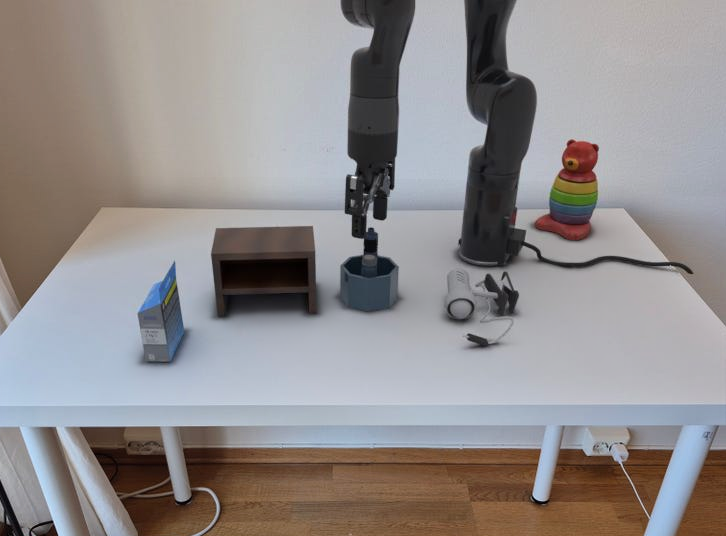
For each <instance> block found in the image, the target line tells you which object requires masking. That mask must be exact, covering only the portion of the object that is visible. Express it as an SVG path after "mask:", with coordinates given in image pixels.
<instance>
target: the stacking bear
mask: <svg viewBox="0 0 726 536" xmlns="http://www.w3.org/2000/svg"><path fill="white" fill-rule="evenodd" d="M599 151H600V147H599V145H598V144H597V143H591V142H589V141H584V140H580V141H579V140H578V141H577V140H575V139H568V141H567V142H566V148H565V149H564V150H563V153H562V155H561V163H562V167H563V168H562V169H560V170H559V171H558V173H557V175H556V176H555V178H554V181H553V183H552V186H551V189H550V192H549V198H548V205H549V213H546V214H543V215H541V216H540V217H538V218H537V219H535V222H534V226H535V228H537V229H539V230H541V231H548V232H553V233H556V234H558V235H559V236H561V237H562V238H564V239H566V240H570V241H579V240H582V239H584V238H586V237H587V236H589V234H590V233H591V228H592V227H591V226H592V225H591V218H592V217H593V214H594V212H595V209H596V206H597V202H598V199H599V190H598V188H599V182H598V178H597V174H596V173H595V171H594V168H595V167H596V165H597V163H598V160H599Z"/></svg>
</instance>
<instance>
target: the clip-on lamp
mask: <svg viewBox="0 0 726 536" xmlns="http://www.w3.org/2000/svg"><path fill="white" fill-rule="evenodd" d="M446 280H447V295H446V296H445V298H444V303H443V304H444V305H443V306H444V309H445V312H446V314H447V315H448V316H449V317H450V318H452V319H455V320H464V319H468V318H470V317H472V315H473V314H475V311H476V310H477V303H478V302H477V298H476V297H479V298H485V300H486V301H485V302H486V304H487V306H488V310H487V312H486V313H485V314H484V315H483V316H482V317H481V318H480V319H479V324H486V323H490V322H491V323H492V322H495V321H500V320H510V321H511V322H510V325H509V326H508V328H507V329H506V330H505V331H504V332H503V333H502V334H501V335H499V337H497V338H496V339H493V340H490V341H488V339H487V338H485V337H483V336H480V335H479V336H478V335H476V334H473V333H470V332H469V333H467V334H463V335H462V337H463V338H466V340H467V341H468V342H472V343H474V344H477V345H480V346H483V347H487V346H488V345H491V344H495V343H497V342H498V341H500V340H501V339H502V338H503V337H505V336H506V334H508V332H509V331H510V330H511V328H512V327H513V326H514V323H515V320H514V318H513V317H512V316H508V315H505V316H504V312H505V309H506V306H507V304H508V308H507V310H508V312H509V313H510V314H513V313H514V311H515V308H516V306H517V303H518V300H519V297H520V293H519V291H518V290H515V288H514V286H513V283H512V280H511V278H510V276H509V273H508V271H503V272H502V275H501V278H500V279H499V278H497V277H495V276H494V275H492V274H491V273H486V274H485V277H484V279H483V280H481V281H479V282H477V283H475V285H474V286H475V288H479V287H481V288H482V289H483V290H472V285H471V282H470V275H469V272H468V271H467V269H465V268H464V267H459V266H457V267H453V268H452V269H450V270H449V272H448V273H447V275H446ZM489 299H492V300H493V302H494V303H495V305H496V306H497V314H498V315H499V316H496V317H492V318H487V316H488V315H489V314H490V312H491V304H490V301H489ZM485 318H487V319H485Z"/></svg>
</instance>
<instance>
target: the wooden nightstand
mask: <svg viewBox="0 0 726 536" xmlns="http://www.w3.org/2000/svg"><path fill="white" fill-rule="evenodd" d="M213 235H214V236H213V240H212V247H211V250H210V251H211V252H210V259H211V266H212V267H211V268H212V276H213V285H214V294H215V295H214V296H215V304H216V305H215V306H216V312H217V313H216V314H217V317H218V318H226V314H227V306H228V297H229V295H230V296H231V295H232V296H233V295H261V294H262V295H263V294H267V295H268V294H296V293H299V294H300V293H307V300H308V302H307V303H308V314H309V315H317V313H318V312H317V311H318V309H317V268H316V266H317V264H316V262H317V261H316V244H315V233H314V226H313V225H293V226H292V225H291V226H290V225H289V226H251V227H249V226H248V227H246V226H245V227H216V228H215V230H214V234H213Z"/></svg>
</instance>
